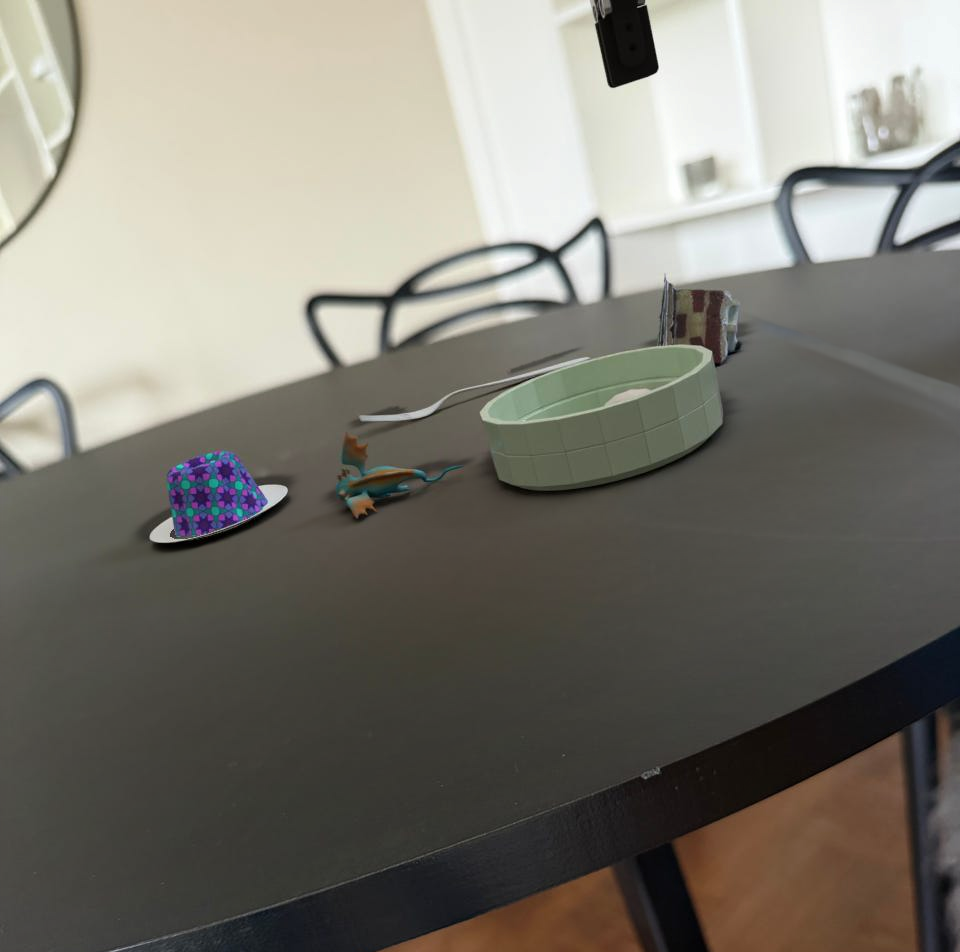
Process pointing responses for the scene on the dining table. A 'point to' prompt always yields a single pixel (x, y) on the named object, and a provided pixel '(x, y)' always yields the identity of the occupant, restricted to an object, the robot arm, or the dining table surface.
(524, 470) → the bowl
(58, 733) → the dining table surface
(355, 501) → the dragon figurine
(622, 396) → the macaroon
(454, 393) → the fork
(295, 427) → the dining table surface
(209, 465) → the purple patterned hat
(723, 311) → the chocolate cake
